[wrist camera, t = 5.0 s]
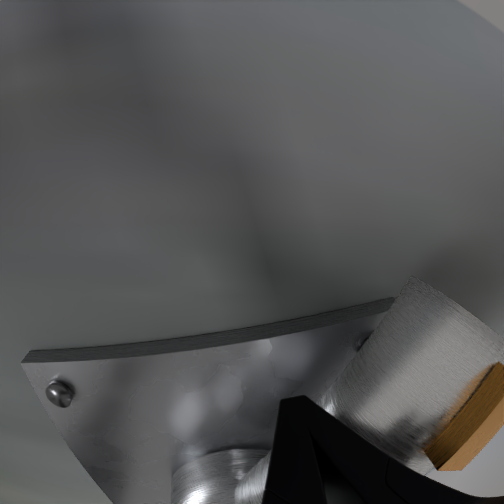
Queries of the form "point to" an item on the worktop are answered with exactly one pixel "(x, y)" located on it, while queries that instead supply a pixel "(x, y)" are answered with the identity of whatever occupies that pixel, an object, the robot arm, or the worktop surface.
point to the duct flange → (189, 394)
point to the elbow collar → (390, 399)
